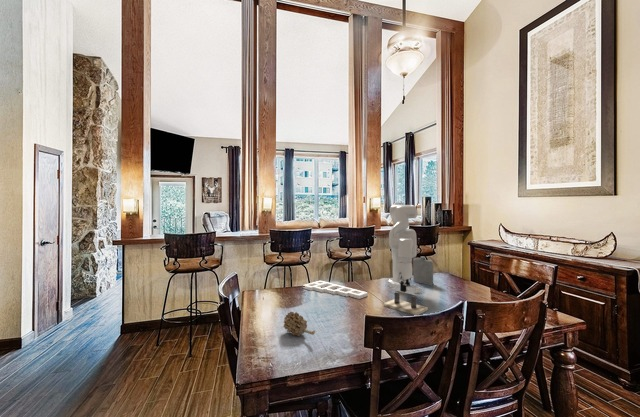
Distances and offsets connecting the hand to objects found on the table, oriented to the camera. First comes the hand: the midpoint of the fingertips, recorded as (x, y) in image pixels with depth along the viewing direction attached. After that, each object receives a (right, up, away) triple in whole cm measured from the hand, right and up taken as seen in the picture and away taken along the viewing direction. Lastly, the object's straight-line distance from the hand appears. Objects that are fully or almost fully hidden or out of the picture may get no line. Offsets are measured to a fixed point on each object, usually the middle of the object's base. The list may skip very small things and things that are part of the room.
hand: (405, 290), depth 179 cm
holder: (-41, -11, +33) cm, 54 cm away
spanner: (0, -1, 0) cm, 1 cm away
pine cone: (-59, -12, -36) cm, 70 cm away
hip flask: (+29, -9, +54) cm, 62 cm away
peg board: (0, -10, 0) cm, 10 cm away
